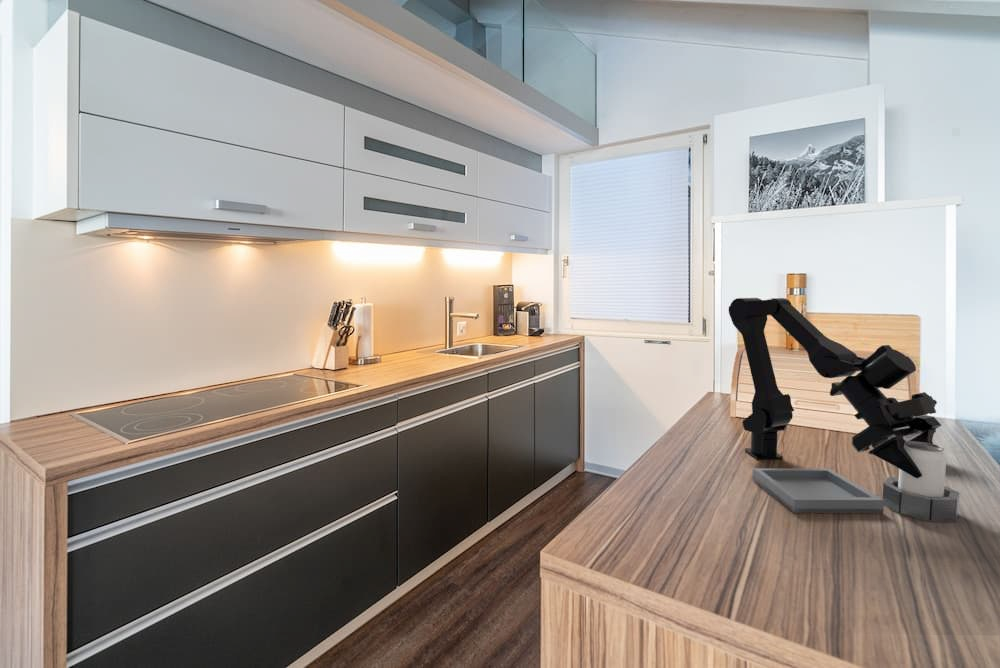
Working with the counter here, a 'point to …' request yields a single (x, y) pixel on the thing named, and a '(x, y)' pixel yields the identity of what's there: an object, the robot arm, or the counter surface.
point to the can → (925, 470)
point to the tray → (816, 491)
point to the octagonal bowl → (921, 503)
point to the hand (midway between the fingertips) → (930, 474)
